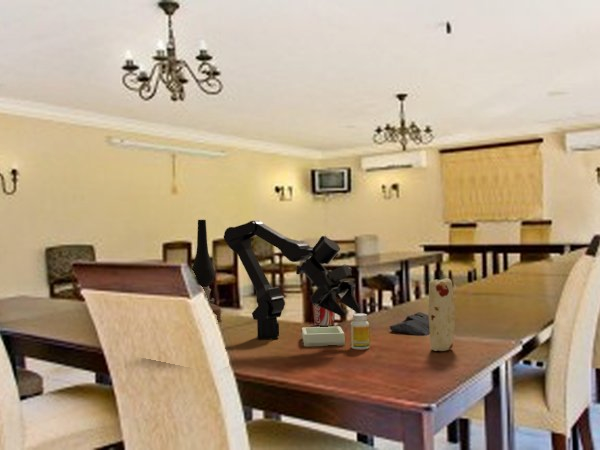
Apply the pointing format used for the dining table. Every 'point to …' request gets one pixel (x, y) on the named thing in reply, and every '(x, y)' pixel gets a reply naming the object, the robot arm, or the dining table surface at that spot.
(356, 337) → the supplement bottle
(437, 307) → the food model
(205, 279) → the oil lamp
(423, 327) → the dark slate chunk
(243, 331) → the dining table surface
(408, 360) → the dining table surface
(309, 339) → the bin
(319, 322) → the soda can
